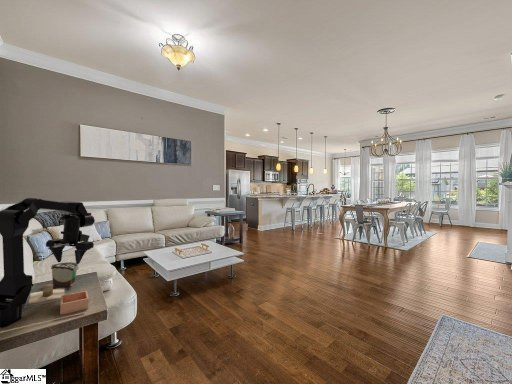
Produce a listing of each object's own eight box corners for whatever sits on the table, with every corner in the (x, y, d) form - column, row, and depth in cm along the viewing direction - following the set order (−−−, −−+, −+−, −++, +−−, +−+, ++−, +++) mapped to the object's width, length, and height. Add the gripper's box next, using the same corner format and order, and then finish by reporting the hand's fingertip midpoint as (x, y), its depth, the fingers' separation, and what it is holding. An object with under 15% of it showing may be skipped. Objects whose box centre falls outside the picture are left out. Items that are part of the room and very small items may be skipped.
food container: (84, 283, 114) (85, 263, 114) (73, 288, 108) (74, 267, 108) (61, 280, 115) (63, 260, 115) (49, 285, 109) (51, 264, 109)
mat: (67, 301, 96) (67, 299, 96) (23, 309, 88) (23, 308, 88) (67, 289, 106) (67, 288, 106) (27, 296, 98) (27, 295, 98)
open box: (88, 309, 91) (88, 298, 91) (60, 316, 85) (60, 304, 85) (86, 301, 97) (87, 290, 97) (60, 306, 92) (61, 295, 92)
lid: (64, 299, 96) (65, 287, 96) (27, 306, 89) (28, 293, 89) (64, 289, 105) (65, 278, 105) (30, 295, 98) (31, 283, 98)
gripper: (103, 228, 111) (101, 260, 111) (68, 225, 113) (66, 256, 112) (84, 231, 100) (81, 267, 100) (46, 228, 102) (43, 263, 101)
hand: (68, 263), depth 104 cm, fingers open, 9 cm apart
